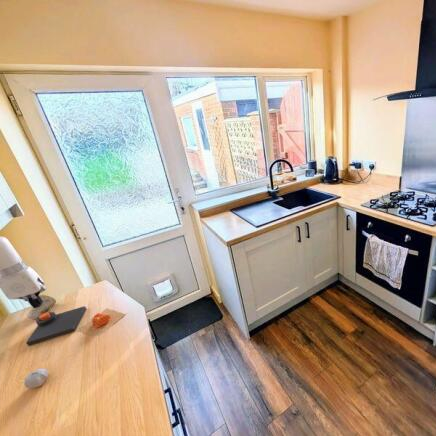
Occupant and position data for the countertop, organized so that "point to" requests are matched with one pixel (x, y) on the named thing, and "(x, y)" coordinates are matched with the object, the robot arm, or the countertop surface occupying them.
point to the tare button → (44, 316)
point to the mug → (42, 307)
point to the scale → (56, 325)
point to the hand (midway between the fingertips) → (38, 305)
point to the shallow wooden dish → (101, 322)
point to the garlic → (36, 378)
